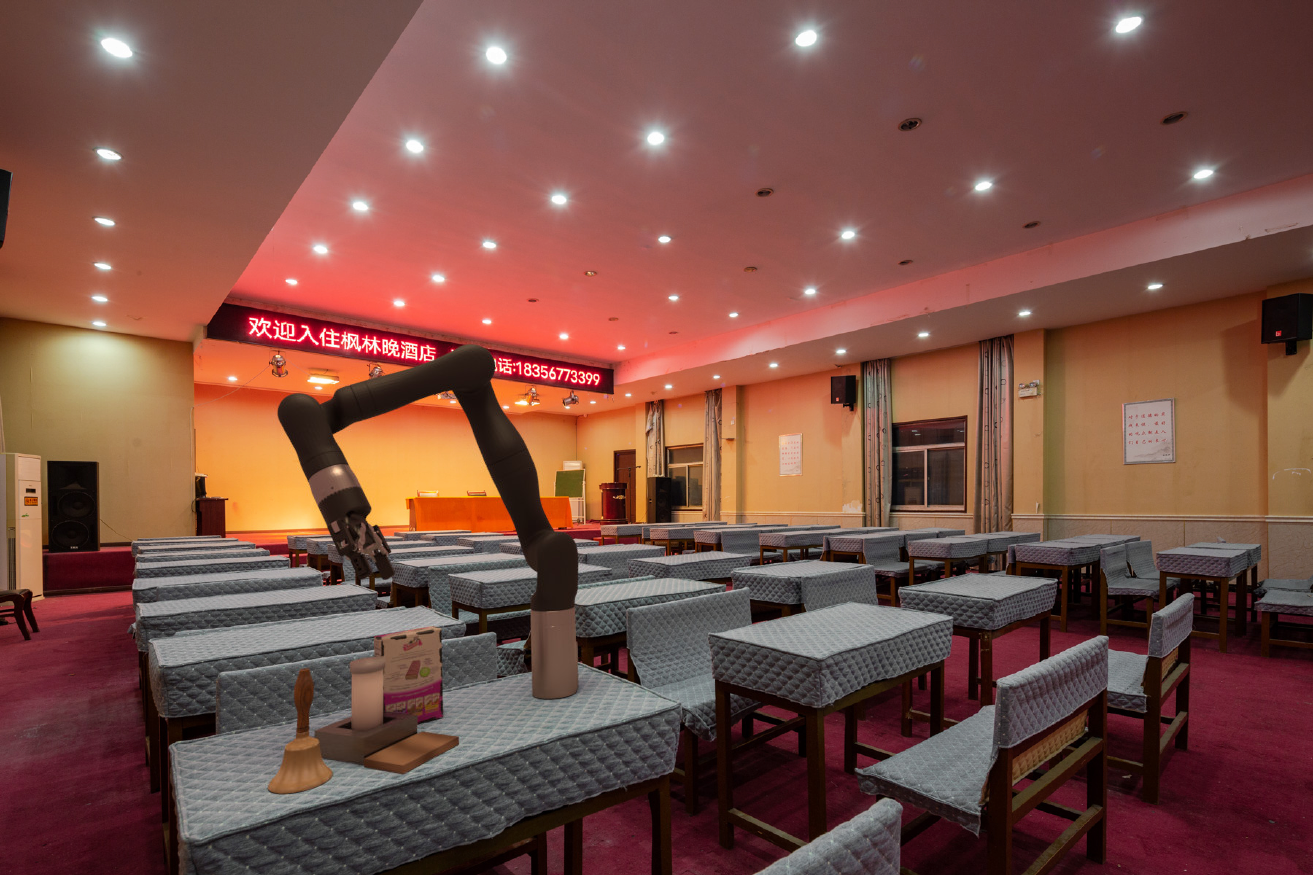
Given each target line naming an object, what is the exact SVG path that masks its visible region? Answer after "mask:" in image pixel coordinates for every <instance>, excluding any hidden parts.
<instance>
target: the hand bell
mask: <svg viewBox="0 0 1313 875" xmlns="http://www.w3.org/2000/svg"><path fill="white" fill-rule="evenodd" d="M314 694H315V685H314V681H313V677H312V675H311V671H310V668H308V667H304V668H301V669H299V672H298V676H297V679H296V681H295V684H294V688H293V699H294V700H293V701H294V702H293V703H294V707H295V709H296V712H297V713H296V714H297V718H296V729H295V730H296V731H295V732H296V733H295V738H294V739H293V740H291V741H289V742H288V743H287V744H286V745H284V746H285V747H284V750H283V757H282V761H281V765H280V767H279V770H278V771H277V773H276V774H275V776H274V777H273V778H272V779H271V780H270V782H269V784H268V785H267V789H268V791H270V792H271V793H274V794H281V795H284V794H285V795H286V794H294V793H300V792H304V791H308V790H312V789H315V788H317V787H319V786H322V785H323V784H325V783H327V782H329V781H330V780H331V779H332V778H333V775H334V772H333V770H332V769H331V768H330V766H327V765H326V763H325V761H324V758H322V756H321V752H320V744H319V740H318V739H316V738H314V737H312V736H311V735H310V729H311V728H310V709H311V706H312V703H313V700H314Z"/></svg>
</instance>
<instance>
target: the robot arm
mask: <svg viewBox="0 0 1313 875" xmlns="http://www.w3.org/2000/svg"><path fill="white" fill-rule="evenodd" d="M495 374H496V362H495V358H494V356H493V355H492V353H491V351H489V350H488V349H487V348H485V347H483V346H482V345H479V344H476V343H475V344H474V343H468V344H462V345H460V346H458V347H457V348H455V349H454V350H452V351H449V352H448V353H446V354H444V355H442V356H439V357H437V358H435V359H432V360H430V361H428V362H424V363H422V364H419V365H416V366H413V367H410V368H407V369H403V370H400V371H399V370H398V371H396V372H395V371H394V372H392V373H389V374H388V373H387V374H384V375H380V376H377V377H373V378H369V379H366V380H362V381H358V382H356V383H352V384H348V385H345V386H343V387H340V388H337V389H336V390H335V391H334V393H333V396H332V398H331V399H329V400H326V401H324V402H321V403H320V402H319V401H318V400H317V399H316V398H315V397H313V396H312V395H309V394H307V393H301V392H296V393H292V394H288V395H286V396H285V397H284V398H283V399H282V400H281V401H280V403H279V405H278V406H277V411H276V412H277V419H278V421H279V423H280V425H281V427H282V430H283V431H284V433H285V434H286V436H287V437H288V440H289V441H290V443H291V445H292V447H293V449H294V451H295V453H296V455H297V458H298V462H299V464H300V467H301V469H302V472H303V474H304V476H305V478H306V481H307V483H308V486H309V489H310V491H311V495H312V497H313V499H314V502H315V504H316V505H317V508H318V510H319V511H320V514H321V516H322V518H323V521H324V523H325V525H326V527H327V528H326V529H327V531H328V532H329V535H330V536H331V540H332V542H333V544H334V547H335V549H336V551H337V553H338V555H339V556H340V557H344V558H345V559H346V560H347V561H350V564H351V565H352V567H353V570H354V572H355V574H356V576H357V579H359V580H365V579H368V577H370V576H372V575H373V573H374V572H373V569H372V567H371V565H370V563H369V561H368V558H367V557H366V555H368V556H369V557H370V558H371V559H372V561H373V562H374V565H375V567H376V569H377V570H378V573H379V575H380V576H381V579H382V580H384V581H387V580H389V579H391V578H392V577H394V576H395V575H396V572H395V570H394V568H393V565H392V563H391V561H390V559H389V555H390V554H391V553H392V550H391V548H390V546H389V544H388V542H387V540H386V539H385V536H384V534H383V532H382V531H381V529H380V526H379V525H378V524H374V525H373V526H372V525H371V524H370V523H369V522H368V520H367V517H368V516H369V515H370V514H371V512H372V506H371V504H370V502H369V499H368V498H367V496H366V494H365V491H364V490H363V488H362V486H361V483H360V481H359V479H358V477H357V476H356V474H355V472H354V471H353V469H352V468H351V465H349V464H350V463H349V462H348V460H347V458H346V457H345V454H344V452H343V451H342V448H341V447H340V445H339V443H338V442H337V441H336V439H335V437H334V435H335V434H337V433H339V432H341V431H343V430H345V429H346V428H348V427H350V426H351V425H354V424H355V423H358V422H362V421H366V420H369V419H372V418H376V417H378V416H382V415H385V414H387V413H390V412H392V411H393V412H394V411H395V410H398V409H401V408H402V407H405V406H408V405H410V404H413V403H415V402H417V401H420V400H423V399H425V398H428V397H431V396H435V395H437V394H442V393H447V392H452V393H453V395H454V397H455V398H456V400H457V401H458V403H459V405H460V407H461V409H462V411H463V413H464V414H465V416H466V418H467V420H468V423H469V425H470V427H471V431H472V435H473V436H474V439H475V442H476V444H477V447H478V449H479V452H480V455H481V457H482V459H483V462H484V464H485V466H486V469H487V471H488V473H489V475H490V478H491V480H492V483H493V484H494V485H495V488H496V489H497V492H498V494H499V496H500V498H501V500H502V503H503V505H504V507H505V509H506V510H507V512H508V515H509V516H510V520H511V521H512V524H513V527H514V530H515V532H516V535H517V539H518V541H519V544H520V548H521V551H522V554H523V557H524V559H525V562H526V563H527V565H528V567H529V568H530V569H532V570H533V571H534V572H536V588H535V591H534V592H533V594H531V597H530V640H531V641H530V642H531V647H530V648H531V689H532V691H531V692H532V693H531V694H532V696H533V697H534V698H538V699H546V700H548V699H549V700H551V699H560V698H566V697H570V696H573V695H574V694H576V692H577V691H578V688H579V657H578V654H579V653H578V651H579V650H578V641H576V640H577V639H576V638H577V637H576V634H577V633H576V597H577V594H578V590H579V551H578V546H577V543H576V541H575V540H574V538H573V537H572V536H571V535H570V534H568V533H567V532H564V531H557V530H556V531H555V530H554V528H553V526H552V525H551V523H550V521H549V518H548V516H547V515H546V513H545V511H544V510H545V509H544V508H543V504H542V501H541V493H540V485H539V475H538V472H537V467H536V465H535V461H534V460H533V458H532V456H531V453H530V451H529V448H528V446H527V444H526V442H525V440H524V437H522V435H521V434H520V432H519V431H518V429H517V428H516V426H515V425H514V424H513V423H512V421H511V420H510V418H508V416H507V415H506V413H505V412H504V410H503V408H502V407H501V405H500V403H499V401H498V399H497V398H498V397H497V396H496V393H495V391H494V388H493V385H492V382H491V381H492V379H493V377H494V375H495Z"/></svg>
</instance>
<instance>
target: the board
mask: <svg viewBox="0 0 1313 875" xmlns="http://www.w3.org/2000/svg"><path fill="white" fill-rule="evenodd" d="M459 744H460V736H457V735H452V734H451V735H449V734H443V733H435V732H430V731H420V732H417V734H415V735H413V736H411V737H409V738H407V739H405V740H403V741H401V742H398V743H396V744H394V745H392V746H390V747H388V748H386V749H384V750H381V751H379V752H377V753H375V754H373V755H371V756H369V757H367V758H365V759H364V765H363V768H367V769H373V770H379V771H386V772H391V773H394V774H395V773H396V774H402V775H404V774H406V773H408V772H409V771H411V770H414V769H416V768H417V767H420V766H421V765H423V764H424V763H426V762H428V761H430V760H432V759H434V758H436V757H438V756H439V755H441V754H443V753H445V752H447V751H449V750H451V749H452V748H455V747H457V746H458V745H459Z"/></svg>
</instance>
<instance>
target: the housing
mask: <svg viewBox="0 0 1313 875" xmlns="http://www.w3.org/2000/svg"><path fill="white" fill-rule="evenodd" d="M417 733H418V724H417V715H413V714H405V713H397V712H389V711H383V725H380V726H378V727H376V728H373V729H371V730H368V731H366V732H364V731H357V730H351V716H348V717H346V718H343V719H341V720H338V721H336V722H333V723H331V724H328V725H325V726H324V727H320V728H317V729H315V730H314V734H313V735H314V737H313V738H316V739H318V740H319V744H320V752H321V756H322V759H325V760H326V759H327V760H332V761H338V762H342V763H350V764H355V765H360V766H364V759H365V758H367V757H369V756H371V755H373V754H375V753H377V752H379V751H381V750H384V749H386V748H388V747H390V746H392V745H394V744H396V743H398V742H401V741H403V740H405V739H407V738H409V737H411V736H413V735H415V734H417Z"/></svg>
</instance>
